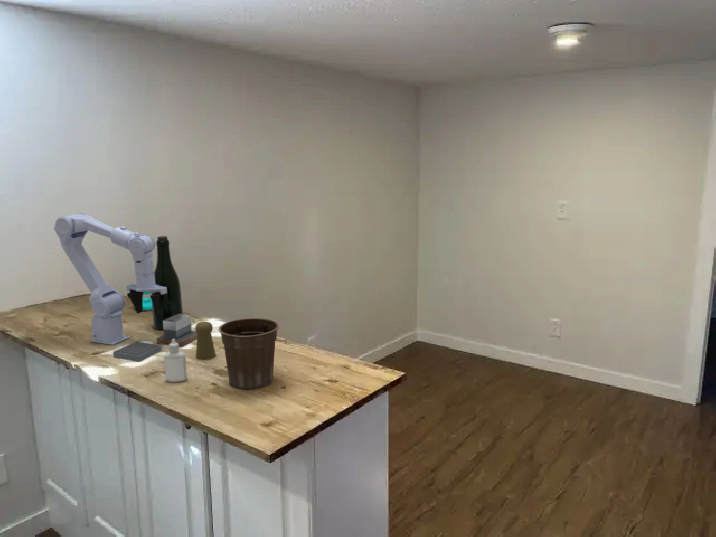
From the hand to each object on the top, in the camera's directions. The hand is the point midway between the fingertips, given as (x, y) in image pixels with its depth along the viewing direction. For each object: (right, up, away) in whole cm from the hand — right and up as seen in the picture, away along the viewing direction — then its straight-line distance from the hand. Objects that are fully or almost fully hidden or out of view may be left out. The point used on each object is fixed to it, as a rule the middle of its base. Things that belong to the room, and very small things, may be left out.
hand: (149, 313), depth 186 cm
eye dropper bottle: (+17, -17, -26) cm, 35 cm away
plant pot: (+38, -17, -26) cm, 50 cm away
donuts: (-16, -1, +42) cm, 45 cm away
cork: (+21, -13, -9) cm, 26 cm away
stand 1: (-1, -12, -7) cm, 14 cm away
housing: (+8, -8, +5) cm, 12 cm away
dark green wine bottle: (0, -6, +20) cm, 21 cm away
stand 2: (+8, -9, +5) cm, 14 cm away
